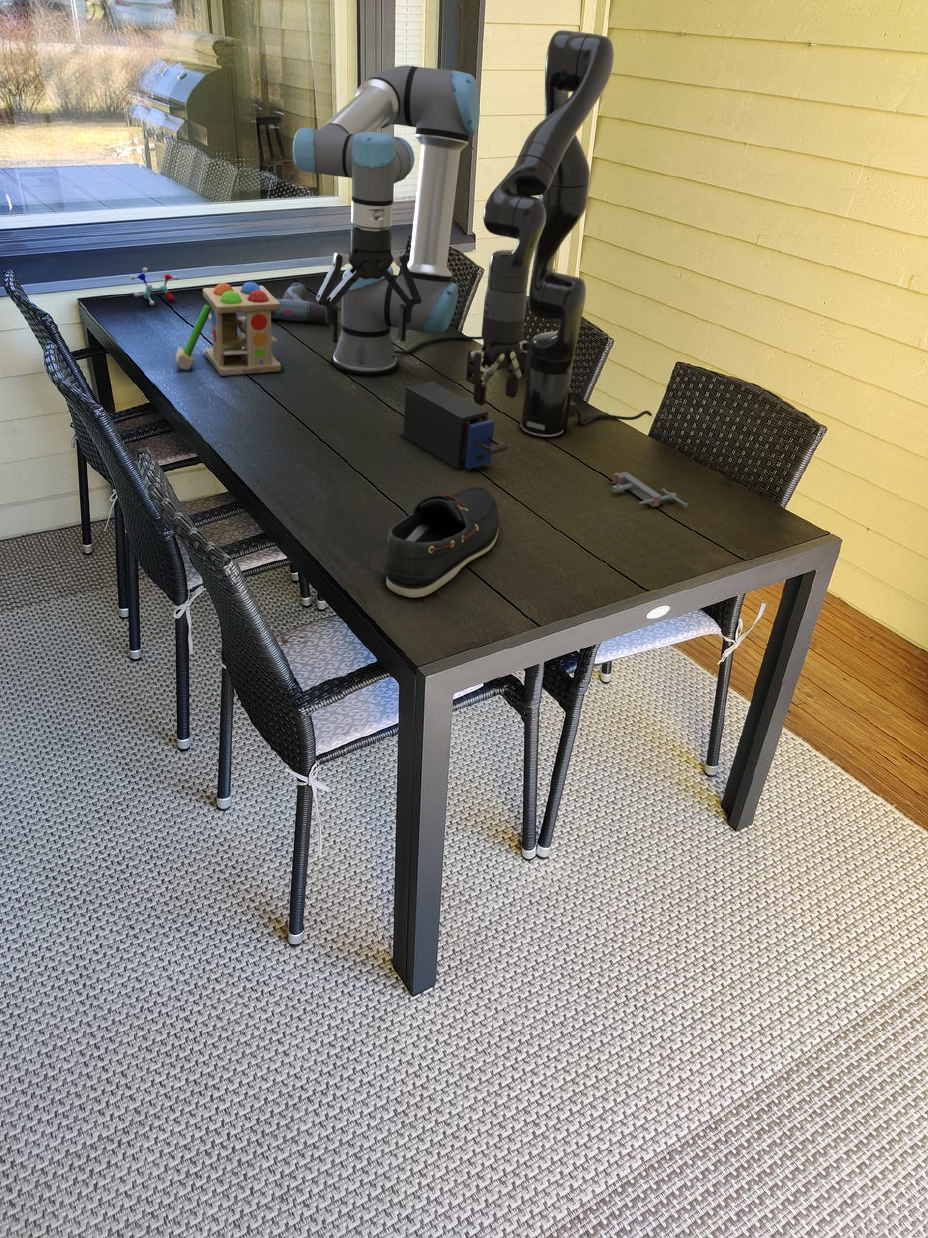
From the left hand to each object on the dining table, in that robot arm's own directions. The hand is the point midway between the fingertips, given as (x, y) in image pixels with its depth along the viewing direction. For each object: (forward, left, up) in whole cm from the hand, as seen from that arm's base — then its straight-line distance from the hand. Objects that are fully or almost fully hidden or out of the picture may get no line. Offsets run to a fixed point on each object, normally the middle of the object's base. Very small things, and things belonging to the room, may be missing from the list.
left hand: (368, 339), depth 193 cm
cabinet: (-10, +13, -20) cm, 26 cm away
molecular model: (-6, -100, -20) cm, 102 cm away
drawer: (-9, +19, -19) cm, 29 cm away
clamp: (-28, +52, -20) cm, 62 cm away
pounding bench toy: (+3, -49, -20) cm, 53 cm away
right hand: (-9, +27, -5) cm, 29 cm away
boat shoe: (+18, +45, -20) cm, 53 cm away
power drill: (-36, -72, -20) cm, 83 cm away
